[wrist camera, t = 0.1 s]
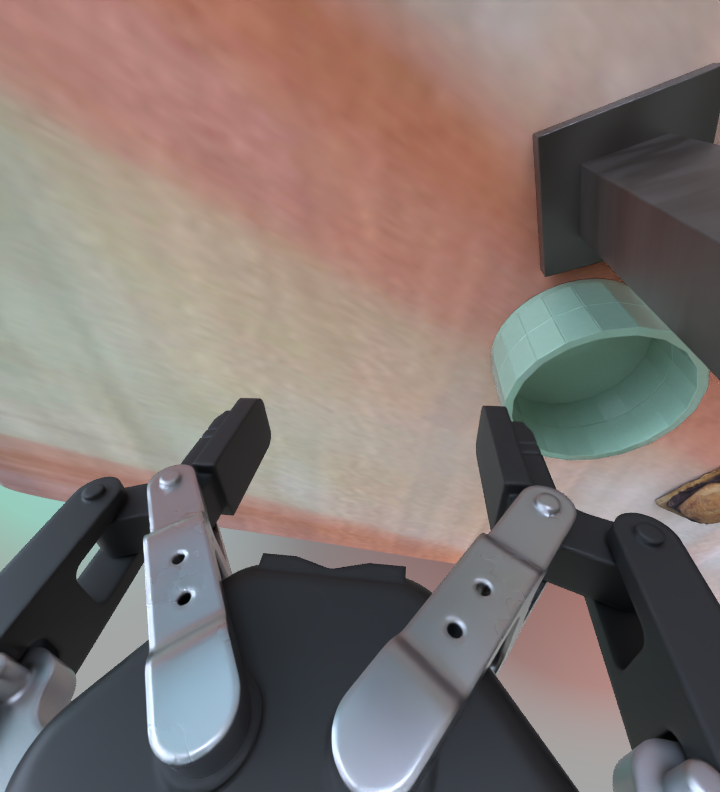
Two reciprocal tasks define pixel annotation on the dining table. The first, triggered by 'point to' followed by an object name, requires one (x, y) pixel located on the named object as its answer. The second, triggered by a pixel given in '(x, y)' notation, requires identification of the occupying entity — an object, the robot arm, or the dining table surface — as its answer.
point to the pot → (594, 371)
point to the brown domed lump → (696, 499)
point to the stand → (642, 201)
